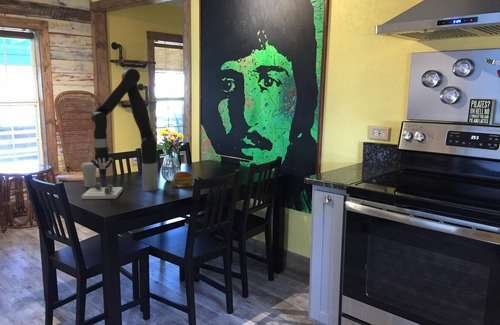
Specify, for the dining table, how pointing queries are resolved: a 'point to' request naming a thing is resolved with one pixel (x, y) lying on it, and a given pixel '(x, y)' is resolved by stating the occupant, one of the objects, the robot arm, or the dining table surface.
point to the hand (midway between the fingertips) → (103, 174)
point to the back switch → (98, 185)
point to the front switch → (107, 190)
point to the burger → (182, 180)
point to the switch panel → (102, 193)
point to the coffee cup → (89, 174)
